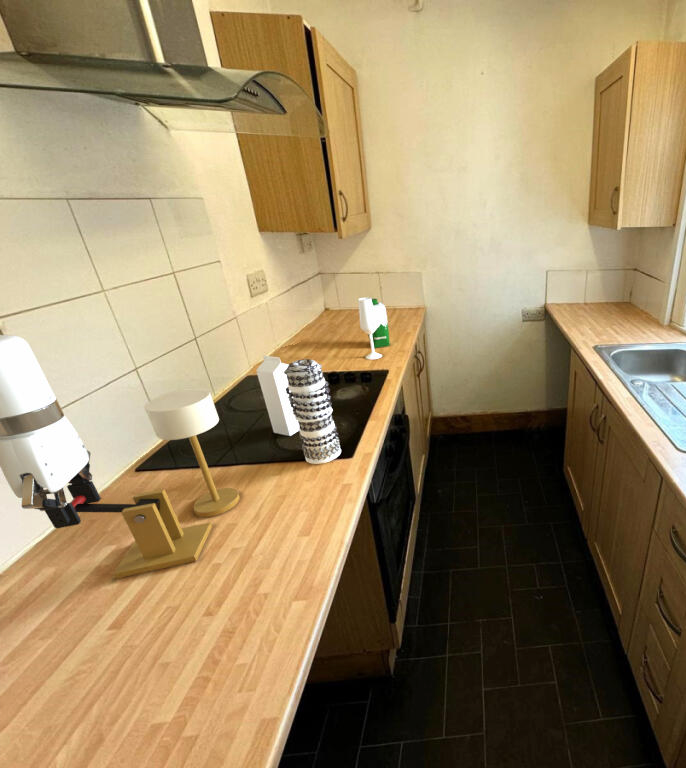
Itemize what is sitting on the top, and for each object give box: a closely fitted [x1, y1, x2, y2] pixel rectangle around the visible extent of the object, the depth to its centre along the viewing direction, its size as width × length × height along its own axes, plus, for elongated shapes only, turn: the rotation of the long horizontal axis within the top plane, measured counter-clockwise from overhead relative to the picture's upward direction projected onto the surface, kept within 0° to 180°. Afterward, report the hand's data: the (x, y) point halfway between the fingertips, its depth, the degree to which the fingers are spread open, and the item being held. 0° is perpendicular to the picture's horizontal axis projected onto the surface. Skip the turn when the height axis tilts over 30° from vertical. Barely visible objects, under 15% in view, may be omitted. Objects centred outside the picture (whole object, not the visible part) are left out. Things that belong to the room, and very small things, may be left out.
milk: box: [255, 355, 300, 437], centre depth 113 cm, size 6×6×22 cm
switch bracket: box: [112, 488, 213, 580], centre depth 74 cm, size 12×9×12 cm
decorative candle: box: [284, 358, 342, 465], centre depth 101 cm, size 9×9×25 cm
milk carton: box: [367, 298, 390, 349], centre depth 182 cm, size 9×9×20 cm
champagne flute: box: [357, 297, 383, 360], centre depth 167 cm, size 7×7×24 cm
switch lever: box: [69, 495, 160, 513], centre depth 71 cm, size 12×5×2 cm, turn 109°
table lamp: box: [144, 387, 240, 518], centre depth 84 cm, size 10×10×25 cm
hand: (79, 512), depth 69 cm, fingers closed on switch lever, 5 cm apart
